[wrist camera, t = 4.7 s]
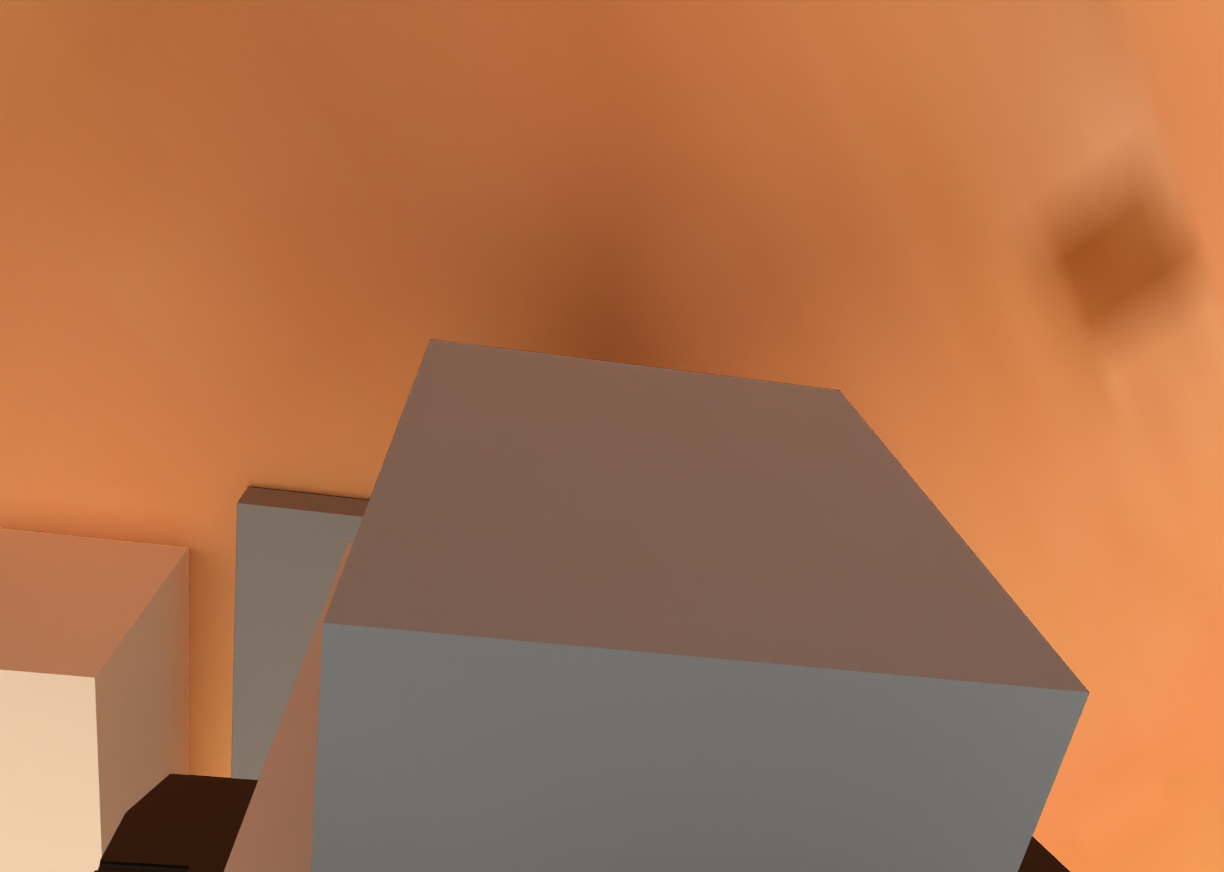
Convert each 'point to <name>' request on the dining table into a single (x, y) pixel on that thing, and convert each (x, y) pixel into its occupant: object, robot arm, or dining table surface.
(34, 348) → the dining table surface
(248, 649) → the build board
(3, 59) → the dining table surface
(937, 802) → the brick top
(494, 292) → the dining table surface
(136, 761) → the brick
